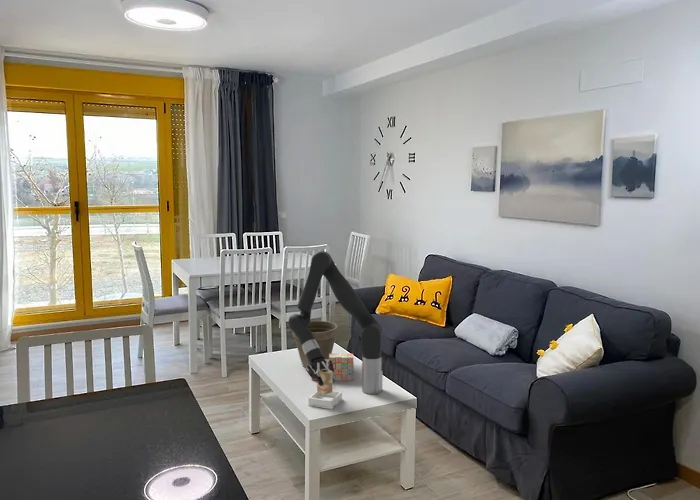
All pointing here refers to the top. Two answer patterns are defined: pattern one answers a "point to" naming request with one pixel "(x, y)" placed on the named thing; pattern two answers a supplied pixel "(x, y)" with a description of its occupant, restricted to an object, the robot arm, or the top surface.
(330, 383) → the oak block
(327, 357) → the plant pot
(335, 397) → the white tray
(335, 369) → the stack of blocks
